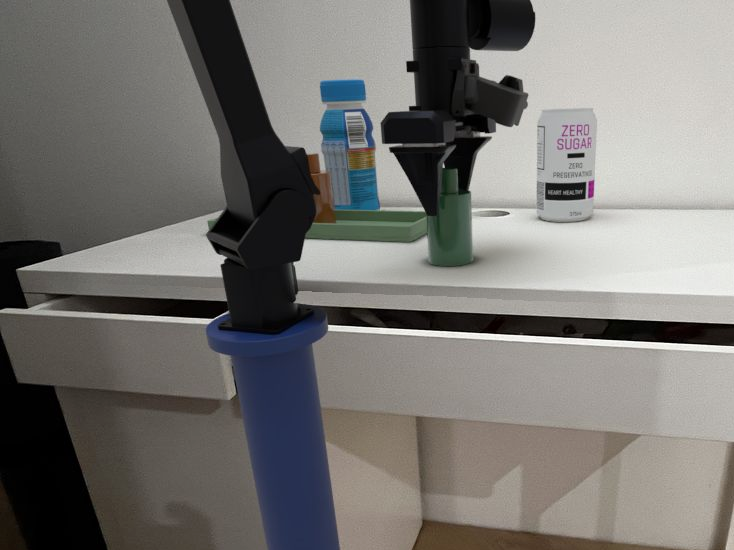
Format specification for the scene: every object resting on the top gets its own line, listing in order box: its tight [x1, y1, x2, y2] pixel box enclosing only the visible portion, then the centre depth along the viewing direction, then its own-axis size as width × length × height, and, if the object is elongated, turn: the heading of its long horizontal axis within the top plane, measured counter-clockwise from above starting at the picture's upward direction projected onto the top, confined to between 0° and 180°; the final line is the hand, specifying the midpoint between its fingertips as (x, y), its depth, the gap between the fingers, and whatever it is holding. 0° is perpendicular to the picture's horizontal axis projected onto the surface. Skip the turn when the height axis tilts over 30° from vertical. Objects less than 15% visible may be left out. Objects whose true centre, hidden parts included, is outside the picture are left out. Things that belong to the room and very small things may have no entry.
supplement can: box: [536, 107, 598, 223], centre depth 89 cm, size 8×8×15 cm
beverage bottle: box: [319, 79, 381, 210], centre depth 97 cm, size 8×8×20 cm
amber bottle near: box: [306, 152, 337, 224], centre depth 87 cm, size 5×5×10 cm
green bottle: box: [426, 167, 474, 267], centre depth 68 cm, size 5×5×10 cm
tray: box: [206, 209, 427, 243], centre depth 89 cm, size 11×31×2 cm, turn 72°
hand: (447, 208), depth 67 cm, fingers open, 9 cm apart
